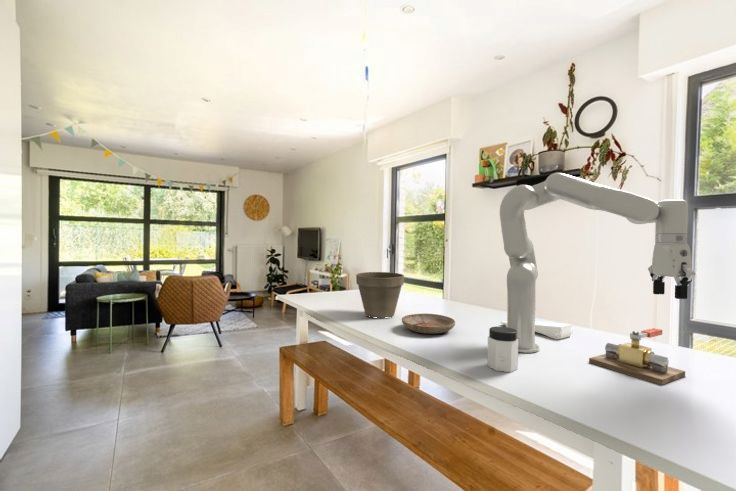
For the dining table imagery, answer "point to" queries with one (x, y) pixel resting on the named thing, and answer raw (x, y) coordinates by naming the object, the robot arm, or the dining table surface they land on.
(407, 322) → the ceramic bowl
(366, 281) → the plant pot
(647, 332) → the lever
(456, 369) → the dining table surface
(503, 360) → the jar
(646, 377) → the base board
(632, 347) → the ball valve
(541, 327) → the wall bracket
